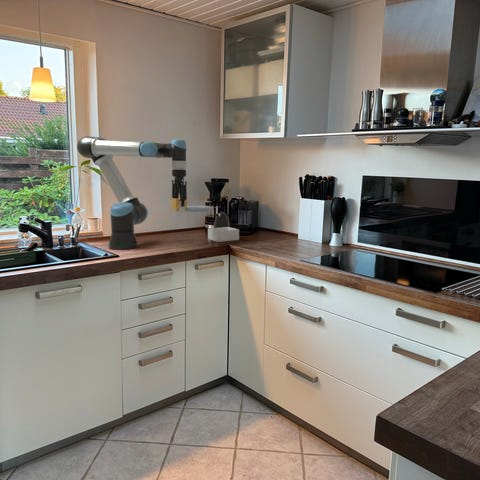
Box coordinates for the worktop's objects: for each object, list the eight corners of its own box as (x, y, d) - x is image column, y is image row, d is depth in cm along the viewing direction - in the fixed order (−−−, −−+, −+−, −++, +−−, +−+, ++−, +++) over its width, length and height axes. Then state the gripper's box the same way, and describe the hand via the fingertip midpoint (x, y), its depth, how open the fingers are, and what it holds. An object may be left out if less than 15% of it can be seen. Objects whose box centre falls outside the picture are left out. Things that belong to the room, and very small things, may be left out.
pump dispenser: (210, 236, 275) (209, 211, 272) (222, 234, 282) (222, 210, 279) (220, 238, 267) (220, 213, 265) (233, 236, 274) (233, 212, 272)
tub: (218, 243, 248) (218, 231, 247) (208, 240, 258) (207, 228, 257) (238, 241, 256) (239, 229, 254) (228, 238, 266) (228, 227, 264)
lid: (178, 213, 233) (178, 200, 231) (168, 210, 243) (168, 198, 242) (213, 211, 244) (213, 198, 243) (202, 209, 254) (202, 197, 253)
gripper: (193, 169, 230) (193, 213, 234) (177, 168, 245) (177, 210, 249) (180, 169, 226) (180, 214, 230) (165, 168, 241) (165, 210, 245)
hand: (179, 211), depth 240 cm, fingers closed on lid, 6 cm apart
